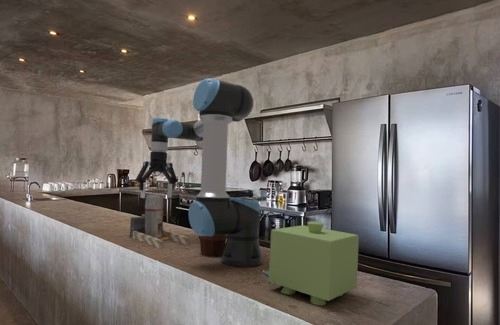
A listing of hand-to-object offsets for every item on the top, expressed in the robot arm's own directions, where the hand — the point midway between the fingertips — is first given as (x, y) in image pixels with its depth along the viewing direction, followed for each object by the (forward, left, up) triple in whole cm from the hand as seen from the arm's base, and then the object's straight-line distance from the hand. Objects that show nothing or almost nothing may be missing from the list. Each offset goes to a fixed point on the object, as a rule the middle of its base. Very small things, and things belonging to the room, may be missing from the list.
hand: (156, 197), depth 157 cm
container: (-59, -62, -19) cm, 88 cm away
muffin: (-21, -29, -19) cm, 41 cm away
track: (-3, -3, -19) cm, 19 cm away
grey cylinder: (0, 0, -18) cm, 18 cm away
